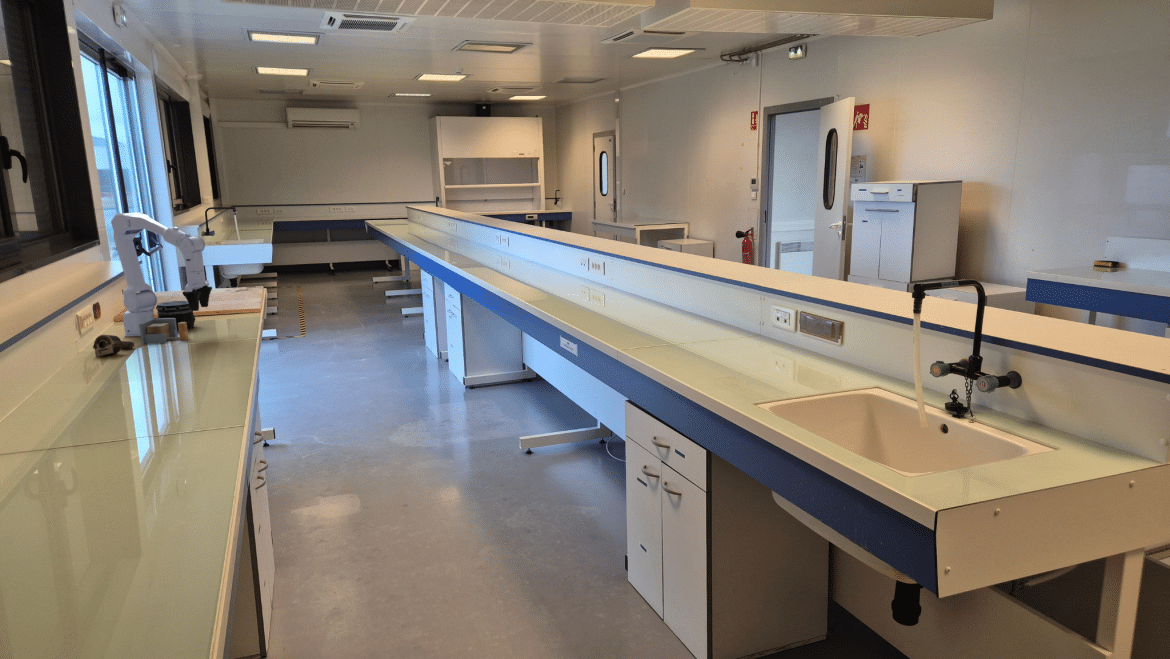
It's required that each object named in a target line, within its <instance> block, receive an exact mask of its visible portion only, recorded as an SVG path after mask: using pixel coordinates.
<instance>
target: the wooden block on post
mask: <svg viewBox="0 0 1170 659" xmlns="http://www.w3.org/2000/svg"><path fill="white" fill-rule="evenodd" d="M178 328H179V331H178V334H179V336H178V337H170V331H169V324H168V323H163V324H152V325H149V326H147V334H166V337H167V341H174V340H175V341H177V340H179V341H187V340H189V339H190V338H189V331H188V330H189V329H187V322H180V323H178Z"/></svg>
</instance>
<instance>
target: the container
mask: <svg viewBox="0 0 1170 659" xmlns="http://www.w3.org/2000/svg"><path fill="white" fill-rule="evenodd" d="M155 309H156V311H157V312H156V314H157V315H158V316H157V319H161V318H175V319H176V326H177V332H179V328H178V323H180V322H187V329H188V330H190V329H193V328H194V327H195V321H196V318H195V315H194V311H192V310H191V308H190V305H189V303H188V301H187V300H172V301H163V302H159V303H156V305H155Z"/></svg>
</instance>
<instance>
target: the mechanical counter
mask: <svg viewBox="0 0 1170 659" xmlns="http://www.w3.org/2000/svg"><path fill="white" fill-rule="evenodd" d="M134 346H135V343H134V342H133V341H127V340H126V341H125V340H121V338H120V337H119V336H117V335H112V334H100V335H98V336H97V337H96V338H95V340H94V341H93V345H92V349H94V355H95V357H96V358H97V357H101V356H105V355H108V356H109V355H113V356H114V355H117V354H118V353H120V351H122V350H132V349H133V348H134Z"/></svg>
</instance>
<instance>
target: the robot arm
mask: <svg viewBox="0 0 1170 659" xmlns="http://www.w3.org/2000/svg"><path fill="white" fill-rule="evenodd" d="M110 223H111V227H112V231H113V240H114V243H115V244H114V245H115V247H116V250H117V254H118V257H119V260H120V264H121V267H122V272H123V274H124V277H125V281H126V282H125V283H126V284H127V285H126V288H125V289H124V290H123V292H122V294H123V306H124V307H125V309H126V310H127V311H125V312H124V313H123V317H122V321H123V327H124V335H123V336H124V337H125V338H126V337H141V334H140V327H139V324H141V323H143V322H146V321H149V320H151V319H156V318H155V312H154V310H155V309H156V306H157V304H158V297H157V295H156V292H154V290H153V288H152V286H151V285H149V283H146V282H145V279H144V275H143V272H142V268H141V264H140V261H139V258H138V253H137V250H136V247H135V243H134V239H135V237H136V236H137V235H139V234H140V233H141V232H143V231H144V230H147V231H149V232H152V233H154V234H156V235H158V236H161V237H162V239H163V240H164V242H166V243H168V244H170V245H172V246H174V247H176V248H178V250H179V251H180V253H181V254H182V258H183V259H184V266H185V274H186V281H187V283H186V285H185V286H184V291H182V295H183V297H184V298H185V299H186V301H188V303H189V305H190V308H191V310H192V311H193V312H199V311H200V307H201V308H208V307H209V300H210V297H211V296H210V295H211V292H212V290H213V286H209V285H210V282H209V280H206V274H205V267H204V264H205V263H204V257H203V251H204V250H205V248H206V244H205V241H204V240H203V238H202V237H201V236H199V235H194V236H192V235H191V233H188V232H184V231H182V230H180V227H178V226H170V227H167V226H164V225H163V224H162V223H160V222H158V221H156V220H155V219H153V218H151V217H150V216H149V215H148V214H144V213H143V212H141V211H136V212H126V213H125V212H124V213H121V212H120V213H116V214H114V216H113V217H112V219H111V221H110Z"/></svg>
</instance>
